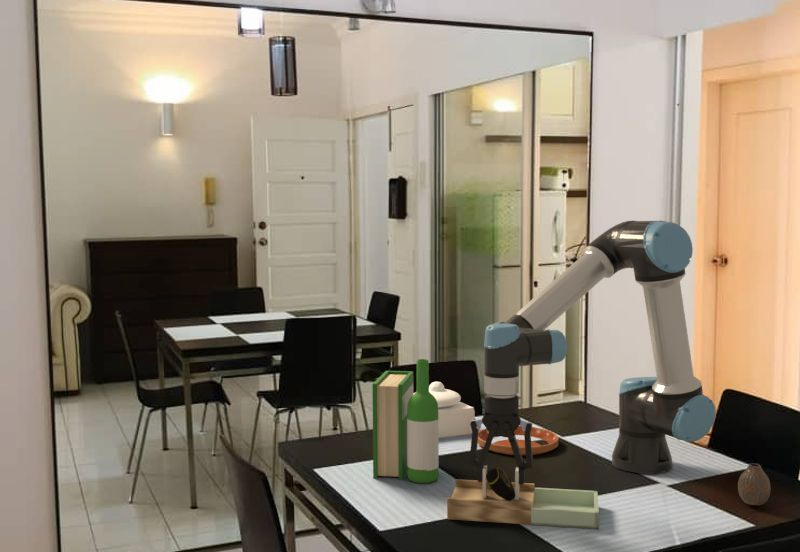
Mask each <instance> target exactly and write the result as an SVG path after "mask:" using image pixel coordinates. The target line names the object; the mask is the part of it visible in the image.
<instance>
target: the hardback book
mask: <svg viewBox="0 0 800 552" xmlns="http://www.w3.org/2000/svg"><path fill="white" fill-rule="evenodd" d="M413 394H414V371H407V370H403V371H402V370H401V371H400V370H385V371H384V372H383V373H382V374H381V375H380V376H379V377H378V378H377V379H376V380H374V382H373V383H372V475H373V477H372V478H373V479H375V478H376V479H378V478H379V477H398V480H399V481H403V480H404V478H405V476H406V474H407V405H408V402H409V400H410V398H411V397H412V395H413ZM377 477H378V478H377Z"/></svg>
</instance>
